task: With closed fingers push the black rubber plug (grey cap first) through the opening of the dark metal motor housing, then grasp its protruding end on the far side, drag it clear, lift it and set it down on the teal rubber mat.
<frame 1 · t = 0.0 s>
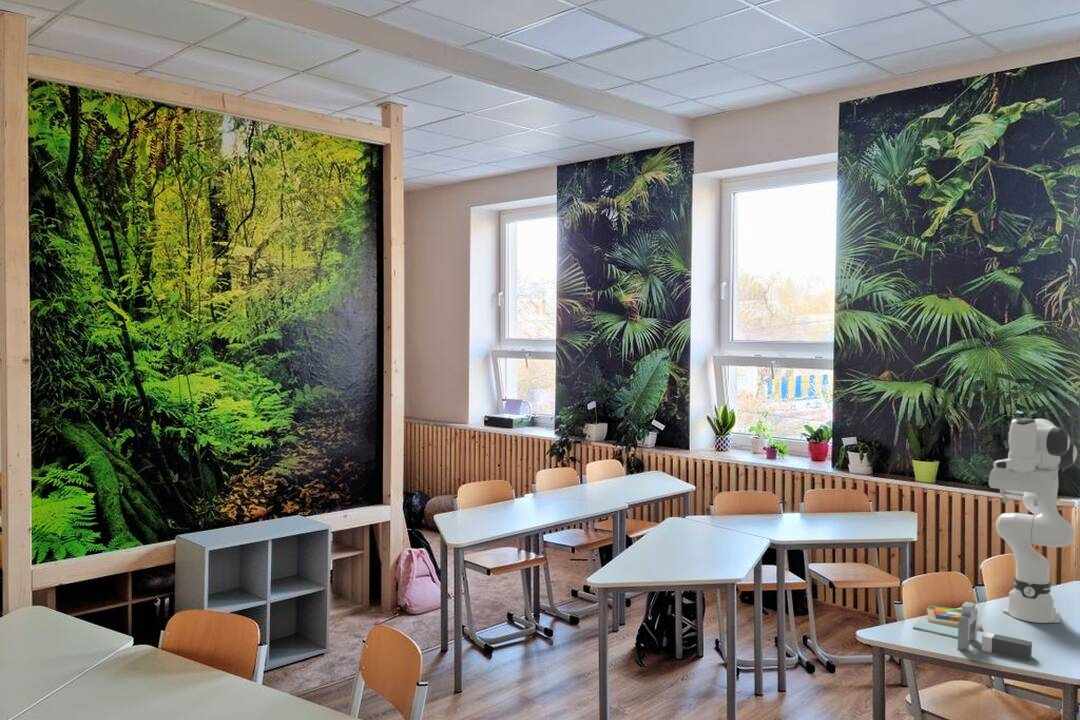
hand: (1020, 503, 297), 48 cm above the table, fingers open, 8 cm apart
housing: (967, 644, 292), on the table
mat: (942, 630, 306), on the table
plug: (1006, 653, 285), on the table
wooden puzzle: (953, 621, 318), on the table
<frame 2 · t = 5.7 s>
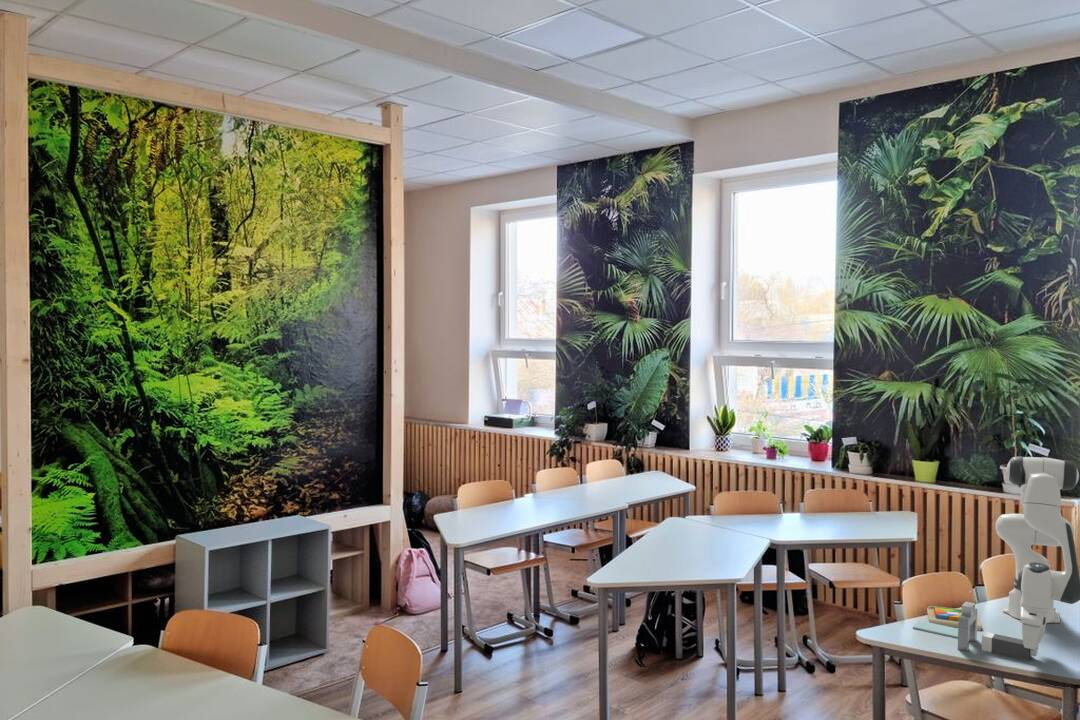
hand: (1033, 654, 280), 2 cm above the table, fingers closed, pressing on plug
plug: (1006, 653, 285), on the table, touching gripper
everything else where it was.
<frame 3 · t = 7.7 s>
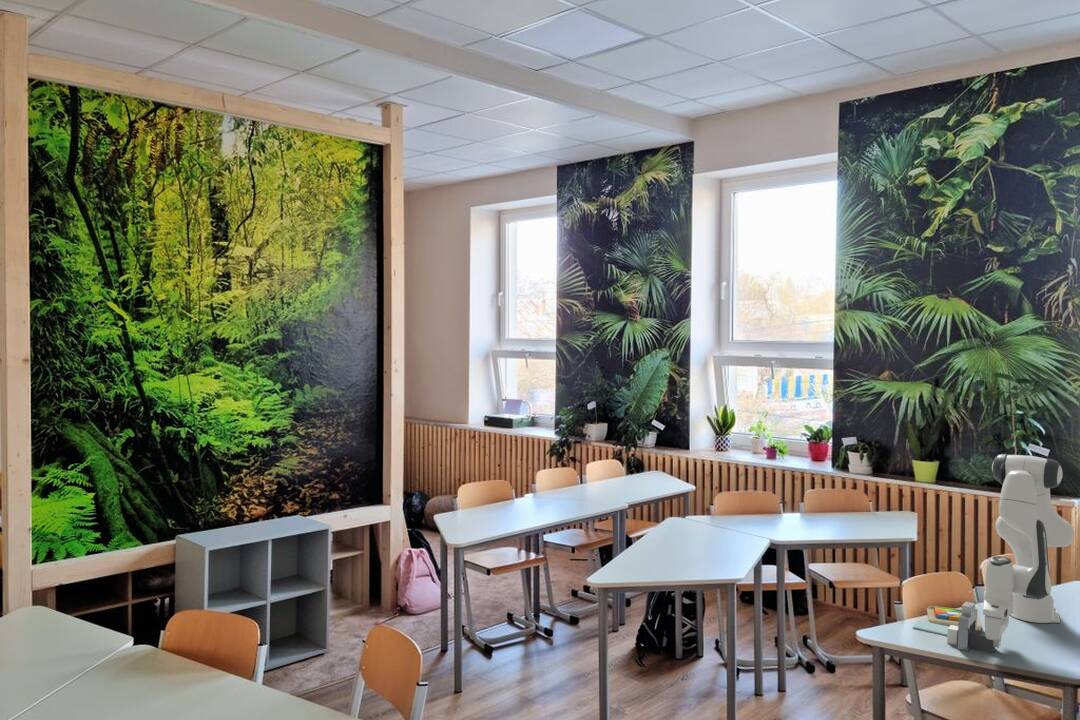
hand: (996, 646, 287), 2 cm above the table, fingers closed
plug: (970, 645, 291), on the table
everything else where it was.
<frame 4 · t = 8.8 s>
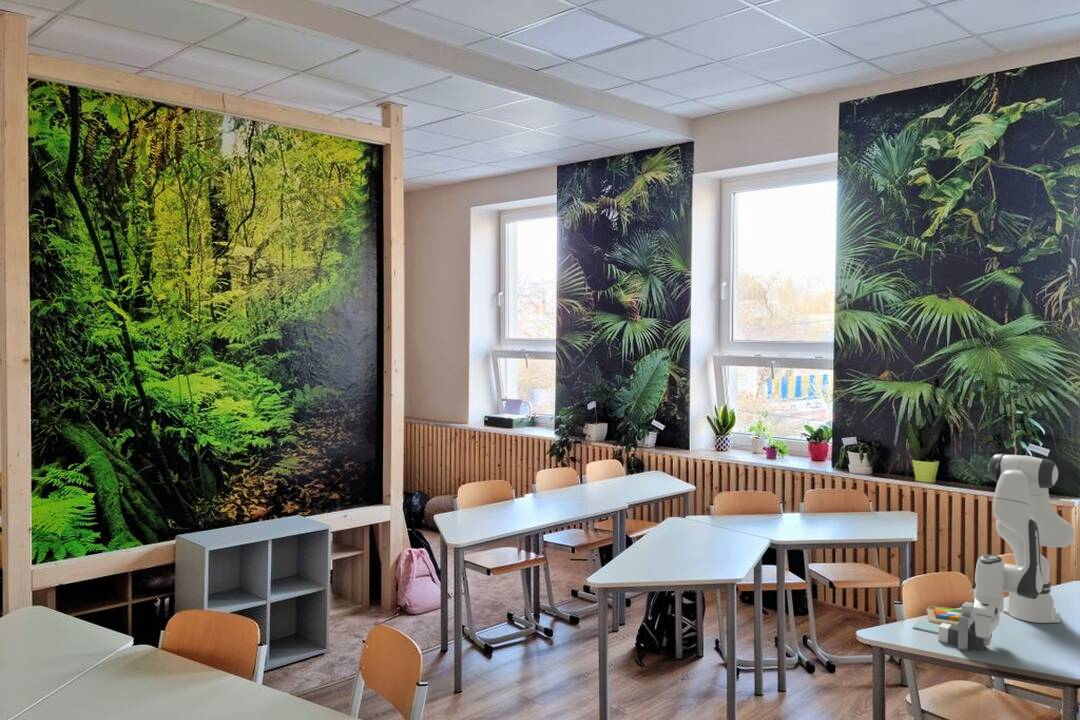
hand: (987, 644, 288), 2 cm above the table, fingers closed, pressing on plug
plug: (961, 643, 293), on the table, touching gripper
everything else where it was.
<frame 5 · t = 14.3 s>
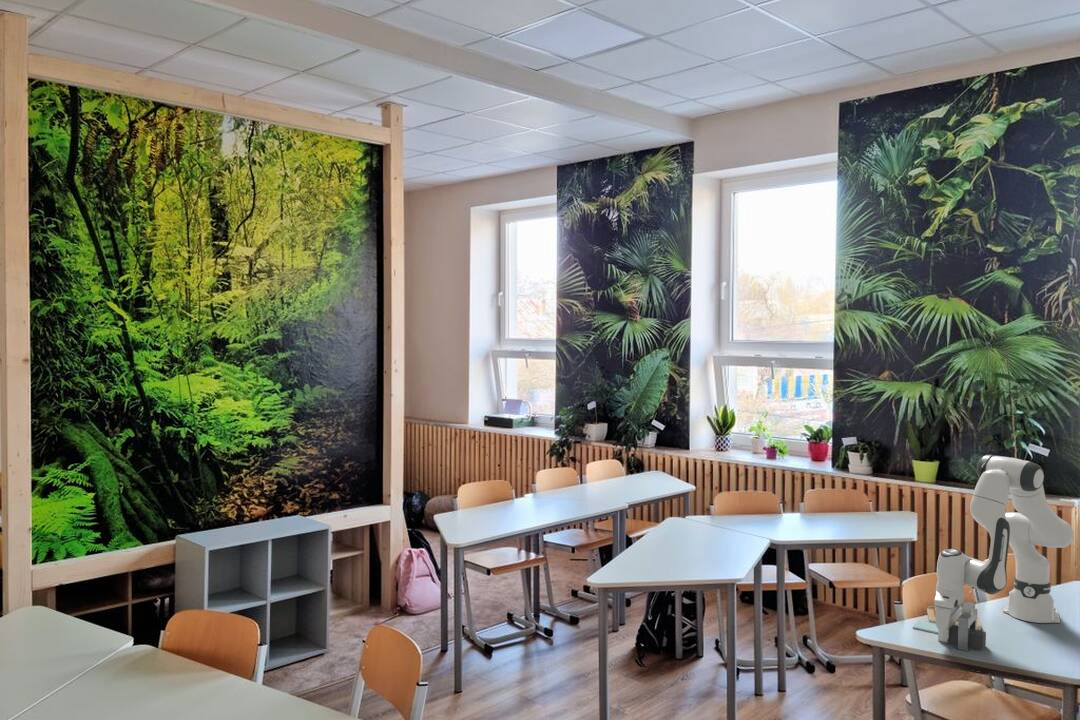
hand: (948, 635, 296), 2 cm above the table, fingers closed on plug, 5 cm apart
plug: (961, 643, 293), on the table, touching gripper
everything else where it was.
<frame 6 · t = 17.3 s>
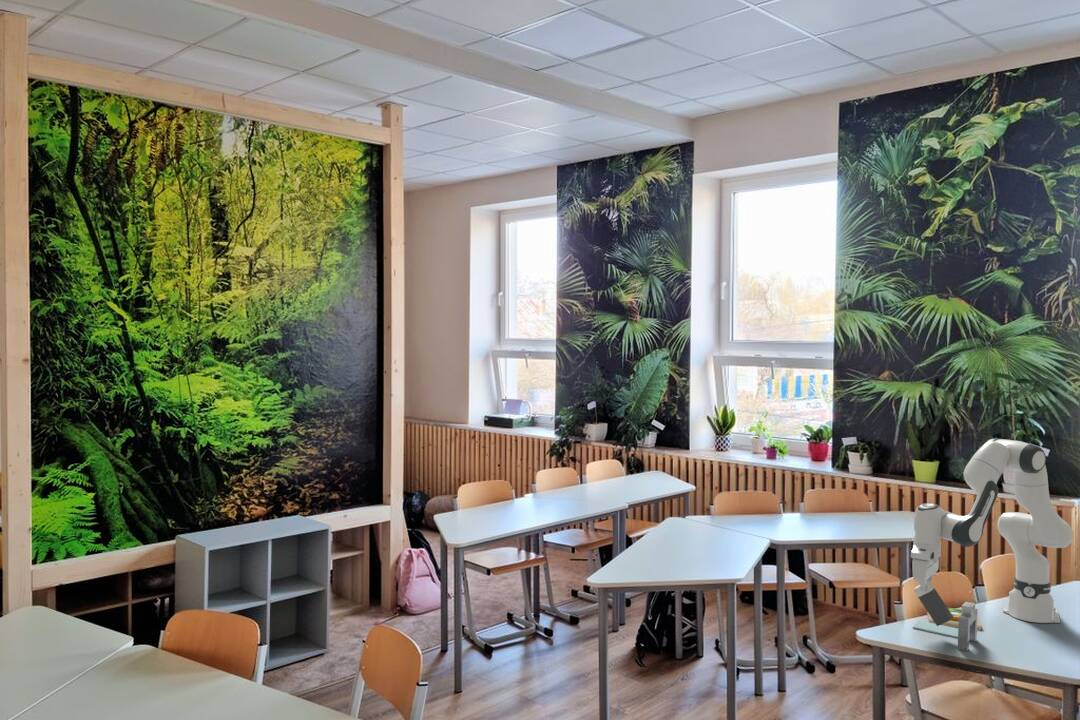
hand: (925, 588, 301), 17 cm above the table, fingers closed on plug, 5 cm apart
plug: (926, 606, 301), point 10 cm above the table, tilted 54°, touching gripper
everything else where it was.
when the fingers open (4 cm above the table, at t = 20.8 s): plug drops 1 cm, resting on mat.
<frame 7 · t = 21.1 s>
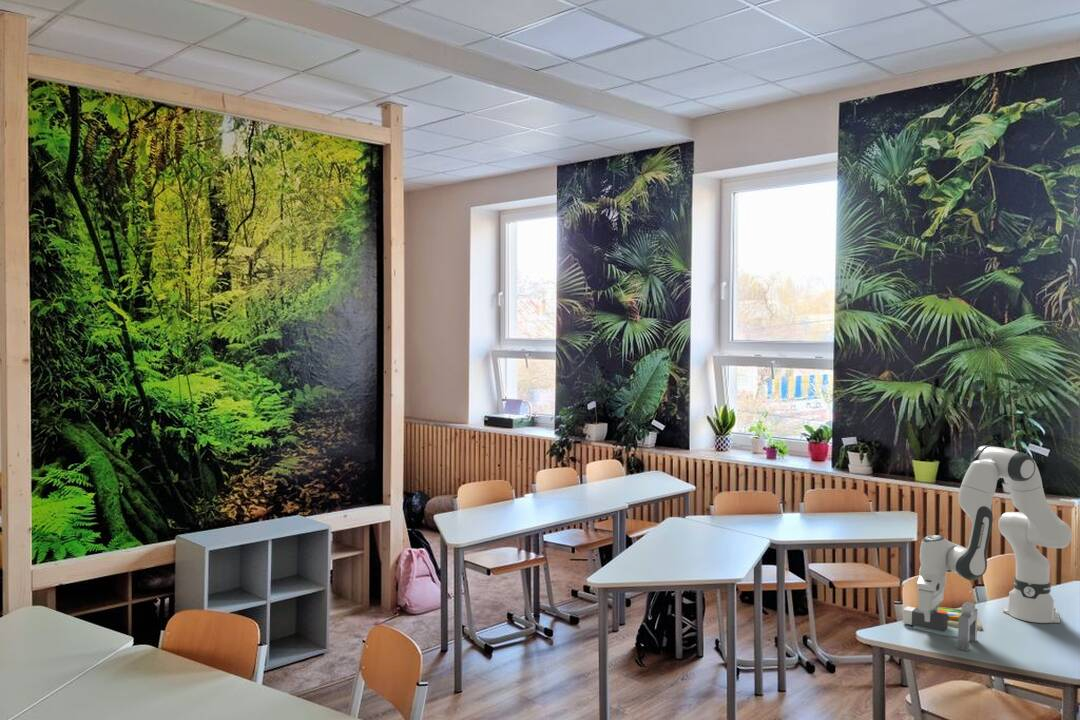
hand: (931, 618, 308), 4 cm above the table, fingers open, 8 cm apart
plug: (925, 625, 309), point 1 cm above the table, touching mat
everything else where it was.
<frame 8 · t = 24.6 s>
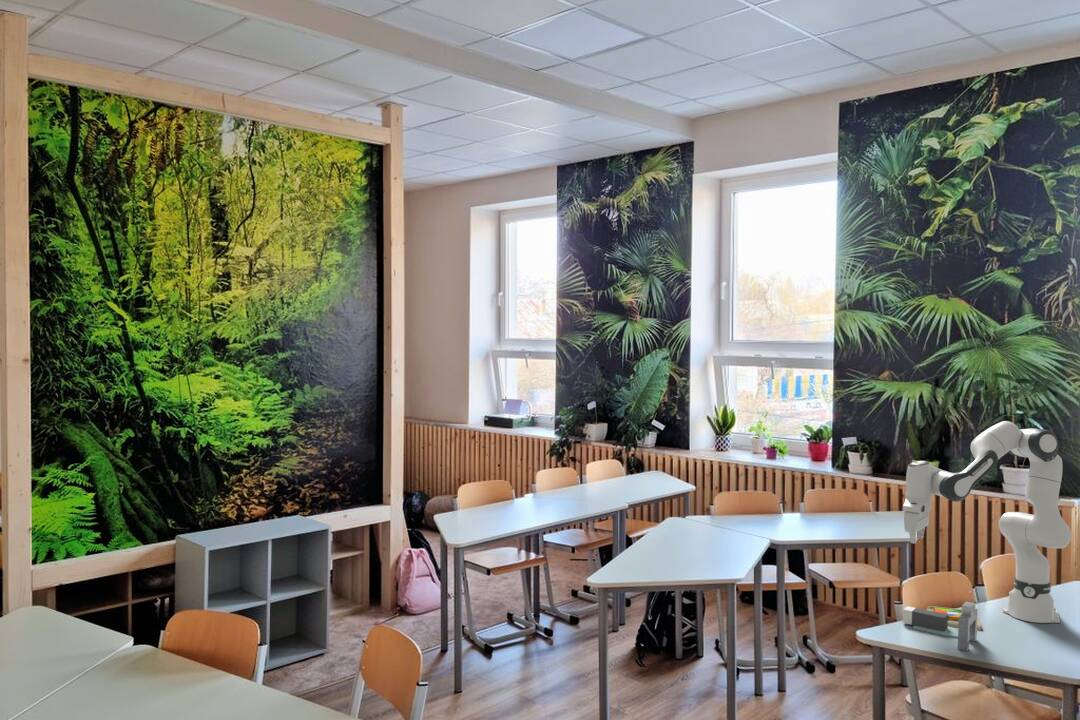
hand: (916, 540, 319), 29 cm above the table, fingers open, 8 cm apart
nothing on the table moved.
at the end: plug inside the target area on the mat (6.0 cm from its centre), point 0.6 cm above the mat's base; plug touching mat; plug tilted 0° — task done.
